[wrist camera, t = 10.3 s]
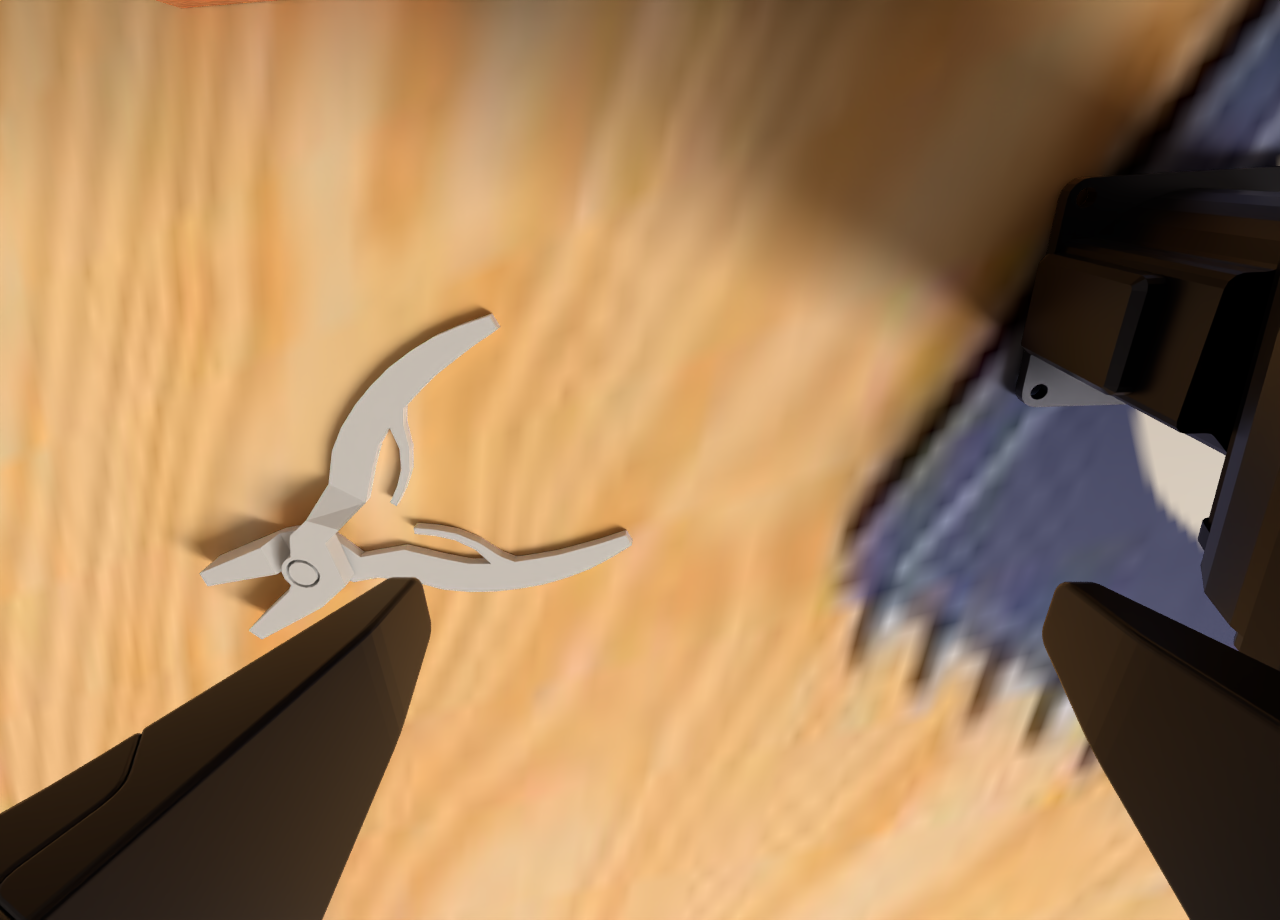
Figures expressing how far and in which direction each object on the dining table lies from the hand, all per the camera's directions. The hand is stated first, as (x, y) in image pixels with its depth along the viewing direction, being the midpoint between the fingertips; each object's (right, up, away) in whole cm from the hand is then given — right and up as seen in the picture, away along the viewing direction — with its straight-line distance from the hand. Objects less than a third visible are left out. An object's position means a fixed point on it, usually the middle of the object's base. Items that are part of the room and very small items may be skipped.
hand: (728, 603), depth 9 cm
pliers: (-10, 0, +14) cm, 18 cm away
